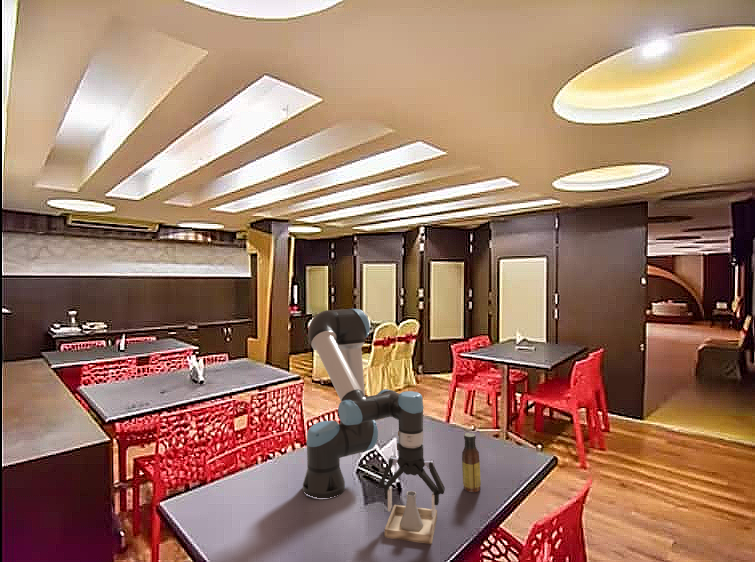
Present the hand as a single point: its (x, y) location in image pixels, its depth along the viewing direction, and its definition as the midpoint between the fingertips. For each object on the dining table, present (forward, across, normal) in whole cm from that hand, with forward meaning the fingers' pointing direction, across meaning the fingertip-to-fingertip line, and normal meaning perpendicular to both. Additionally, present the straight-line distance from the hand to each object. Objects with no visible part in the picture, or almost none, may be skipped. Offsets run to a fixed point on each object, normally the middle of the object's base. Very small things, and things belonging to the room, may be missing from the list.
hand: (411, 511), depth 135 cm
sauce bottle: (+5, +17, +28) cm, 33 cm away
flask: (+4, 0, 0) cm, 4 cm away
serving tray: (+5, 0, 0) cm, 5 cm away
